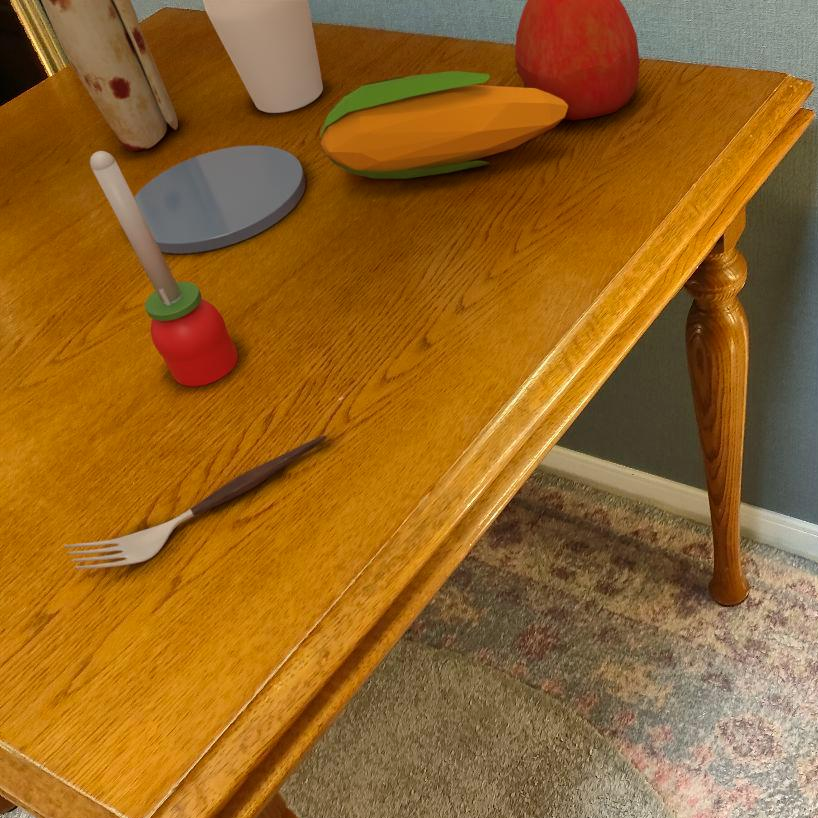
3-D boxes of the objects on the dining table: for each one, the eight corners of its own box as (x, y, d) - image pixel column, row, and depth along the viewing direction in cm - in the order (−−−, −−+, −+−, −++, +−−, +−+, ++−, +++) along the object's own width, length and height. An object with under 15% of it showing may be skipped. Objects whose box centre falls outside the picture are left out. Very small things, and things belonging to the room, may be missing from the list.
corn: (311, 69, 80) (560, 29, 78) (341, 155, 86) (572, 120, 84) (299, 119, 75) (562, 79, 73) (331, 206, 81) (575, 171, 79)
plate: (109, 264, 80) (103, 254, 79) (157, 168, 90) (152, 158, 89) (289, 240, 78) (285, 229, 77) (318, 145, 88) (315, 134, 87)
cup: (245, 129, 92) (192, -8, 83) (242, 89, 98) (192, -43, 89) (340, 105, 93) (297, -35, 84) (331, 66, 99) (290, -68, 90)
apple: (500, 114, 87) (477, -15, 79) (585, 65, 90) (571, -62, 82) (582, 146, 81) (565, 11, 73) (669, 93, 84) (662, -42, 77)
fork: (338, 453, 61) (328, 429, 59) (93, 592, 56) (76, 570, 55) (319, 432, 62) (309, 408, 61) (80, 565, 58) (62, 543, 56)
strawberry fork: (164, 391, 68) (44, 180, 56) (181, 346, 71) (71, 137, 59) (231, 383, 67) (125, 168, 56) (245, 338, 70) (147, 126, 59)
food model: (120, 122, 97) (8, -111, 83) (187, 106, 98) (87, -130, 83) (109, 169, 91) (-14, -74, 76) (181, 153, 91) (72, -94, 76)
